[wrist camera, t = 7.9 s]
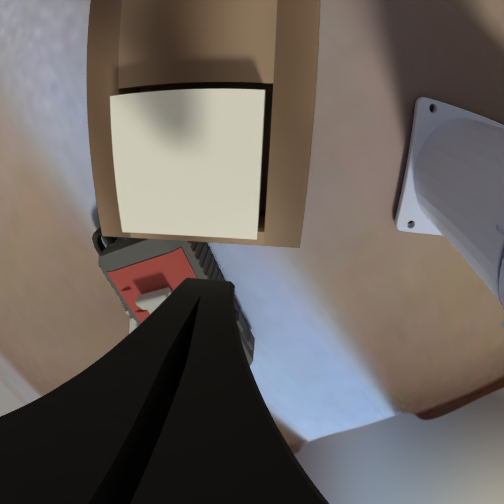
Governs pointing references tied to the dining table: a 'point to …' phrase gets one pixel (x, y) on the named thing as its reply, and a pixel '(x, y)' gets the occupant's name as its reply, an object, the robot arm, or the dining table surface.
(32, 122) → the dining table surface
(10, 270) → the dining table surface
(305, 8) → the key base
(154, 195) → the cream key
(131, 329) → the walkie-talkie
